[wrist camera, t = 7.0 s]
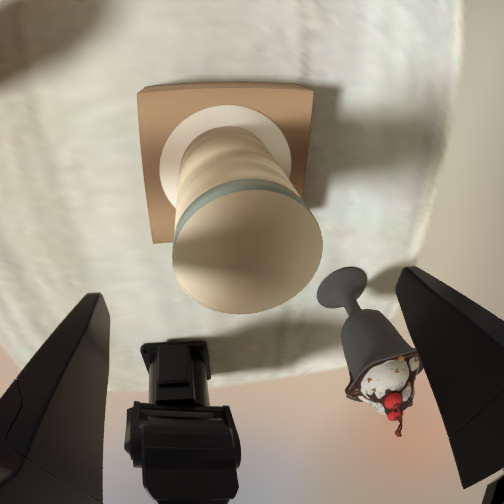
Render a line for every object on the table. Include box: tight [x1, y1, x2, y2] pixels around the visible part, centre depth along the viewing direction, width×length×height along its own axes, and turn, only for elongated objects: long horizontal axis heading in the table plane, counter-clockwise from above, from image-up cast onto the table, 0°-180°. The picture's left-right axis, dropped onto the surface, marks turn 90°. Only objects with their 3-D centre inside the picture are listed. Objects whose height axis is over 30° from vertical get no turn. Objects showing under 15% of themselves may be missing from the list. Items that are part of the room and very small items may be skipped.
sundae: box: [317, 267, 423, 437], centre depth 23 cm, size 7×7×15 cm
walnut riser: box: [137, 82, 314, 244], centre depth 18 cm, size 9×9×3 cm
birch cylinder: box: [172, 126, 323, 314], centre depth 14 cm, size 5×5×8 cm
